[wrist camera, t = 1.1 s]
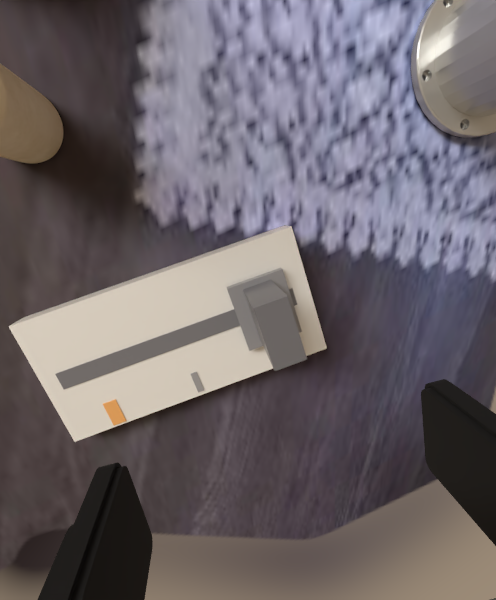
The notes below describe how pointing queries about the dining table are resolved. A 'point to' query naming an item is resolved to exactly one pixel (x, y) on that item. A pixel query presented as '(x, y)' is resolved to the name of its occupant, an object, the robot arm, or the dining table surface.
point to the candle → (27, 122)
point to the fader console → (159, 335)
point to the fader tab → (269, 317)
